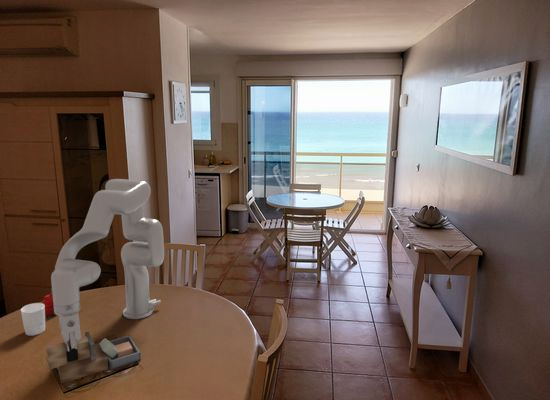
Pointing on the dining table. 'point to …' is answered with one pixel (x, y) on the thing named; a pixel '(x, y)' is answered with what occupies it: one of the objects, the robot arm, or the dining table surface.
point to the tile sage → (108, 347)
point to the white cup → (33, 318)
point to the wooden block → (84, 366)
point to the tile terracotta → (124, 349)
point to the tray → (125, 360)
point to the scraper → (58, 351)
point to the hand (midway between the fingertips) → (71, 356)
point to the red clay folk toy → (49, 304)
